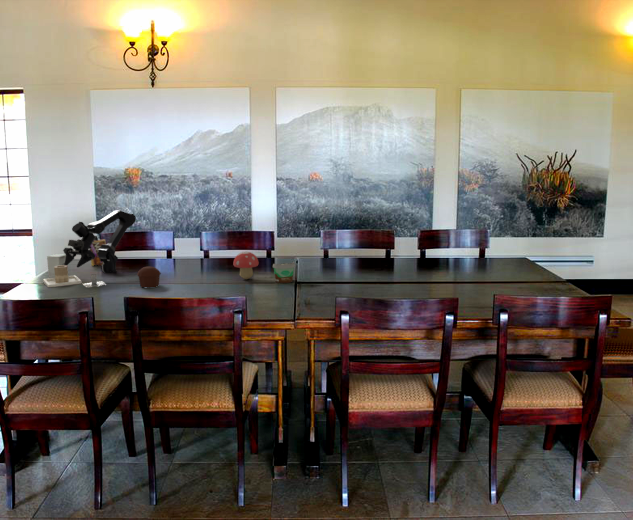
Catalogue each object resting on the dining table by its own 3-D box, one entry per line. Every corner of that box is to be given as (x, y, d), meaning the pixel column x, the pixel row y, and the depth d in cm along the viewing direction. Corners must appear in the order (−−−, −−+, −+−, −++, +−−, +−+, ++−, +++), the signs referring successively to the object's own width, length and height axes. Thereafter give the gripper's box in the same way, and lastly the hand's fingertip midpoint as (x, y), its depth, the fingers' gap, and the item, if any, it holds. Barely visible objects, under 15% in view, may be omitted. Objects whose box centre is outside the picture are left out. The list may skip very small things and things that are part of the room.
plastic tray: (75, 278, 311) (75, 275, 311) (81, 284, 298) (81, 280, 298) (43, 282, 303) (42, 279, 302) (48, 288, 290) (47, 284, 289)
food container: (277, 284, 295) (277, 265, 293) (272, 282, 301) (272, 263, 299) (299, 282, 301) (298, 263, 299) (294, 279, 306) (293, 261, 304)
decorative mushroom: (234, 282, 300) (233, 254, 298) (233, 277, 313) (232, 250, 311) (259, 281, 302) (259, 253, 300) (258, 276, 315) (257, 249, 313)
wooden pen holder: (68, 280, 304) (67, 264, 303) (67, 282, 299) (66, 267, 297) (56, 281, 302) (55, 265, 301) (55, 283, 297) (53, 267, 295)
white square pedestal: (102, 282, 303) (101, 271, 302) (106, 285, 295) (106, 275, 294) (82, 284, 297) (81, 274, 296) (86, 288, 289) (85, 277, 288)
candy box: (107, 263, 353) (105, 239, 350) (106, 265, 348) (104, 240, 346) (92, 264, 350) (89, 239, 347) (91, 266, 346) (89, 241, 343)
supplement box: (60, 279, 310) (58, 256, 308) (48, 279, 311) (46, 256, 309) (69, 276, 317) (67, 254, 315) (57, 276, 319) (55, 253, 316)
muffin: (165, 284, 298) (164, 265, 296) (154, 289, 287) (153, 269, 285) (144, 283, 300) (143, 264, 298) (133, 288, 290) (132, 268, 288)
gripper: (64, 232, 310) (48, 256, 303) (89, 234, 302) (73, 259, 294) (77, 244, 319) (62, 268, 311) (101, 247, 310) (87, 271, 303)
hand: (71, 266), depth 305 cm, fingers open, 9 cm apart
